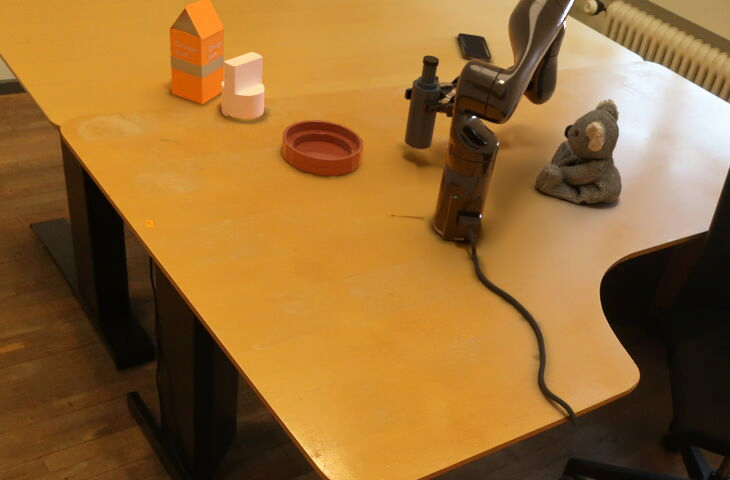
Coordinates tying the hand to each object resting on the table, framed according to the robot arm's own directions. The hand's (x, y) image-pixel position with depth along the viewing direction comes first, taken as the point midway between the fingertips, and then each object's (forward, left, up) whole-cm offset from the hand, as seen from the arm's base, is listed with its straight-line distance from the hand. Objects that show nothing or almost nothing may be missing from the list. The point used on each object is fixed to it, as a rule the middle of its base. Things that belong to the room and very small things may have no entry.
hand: (415, 101), depth 171 cm
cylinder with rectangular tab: (+15, +35, -14) cm, 41 cm away
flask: (+1, -2, -10) cm, 10 cm away
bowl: (-2, +18, -14) cm, 23 cm away
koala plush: (-4, -39, -14) cm, 42 cm away
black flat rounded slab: (+68, -25, -13) cm, 74 cm away
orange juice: (+22, +45, -14) cm, 52 cm away
